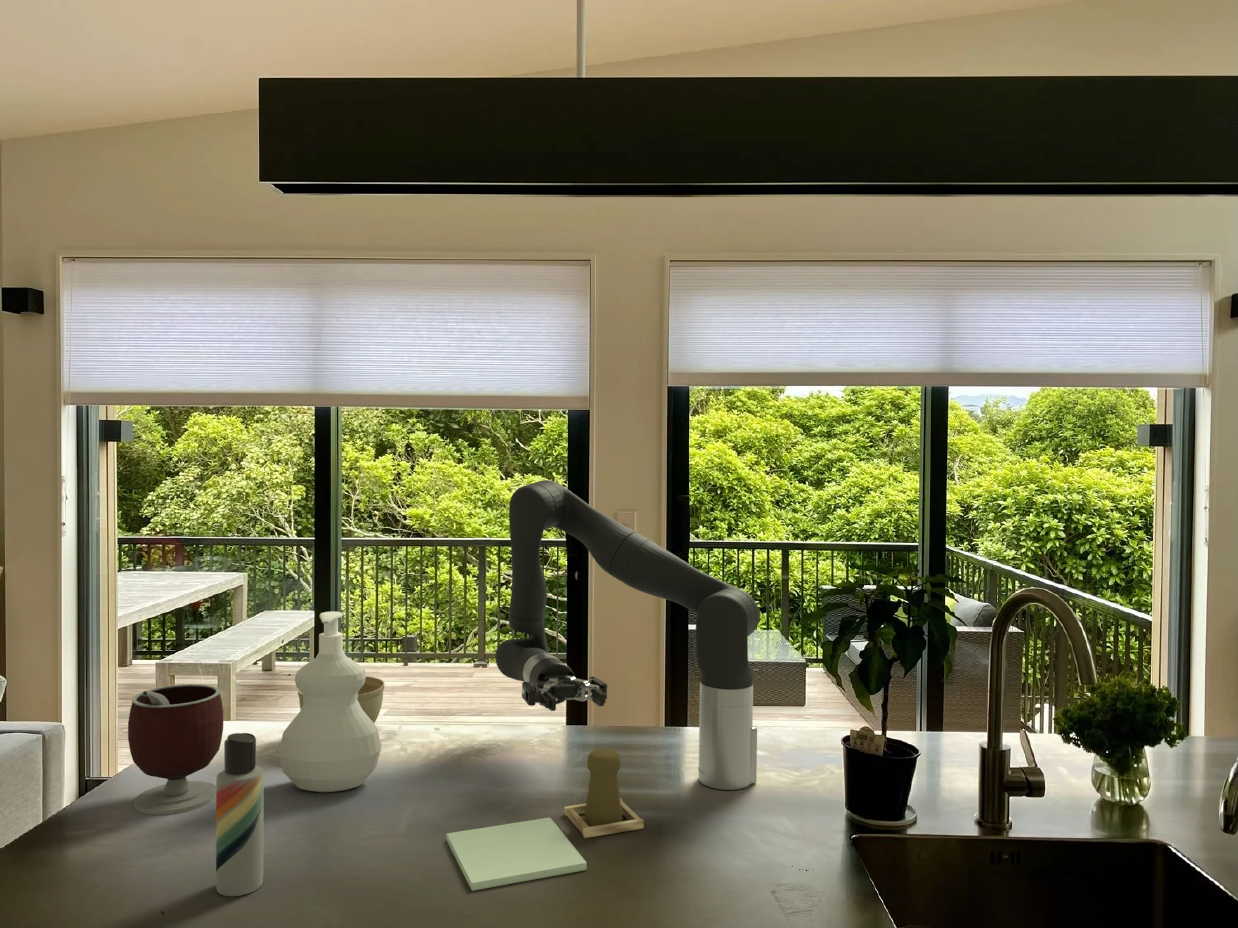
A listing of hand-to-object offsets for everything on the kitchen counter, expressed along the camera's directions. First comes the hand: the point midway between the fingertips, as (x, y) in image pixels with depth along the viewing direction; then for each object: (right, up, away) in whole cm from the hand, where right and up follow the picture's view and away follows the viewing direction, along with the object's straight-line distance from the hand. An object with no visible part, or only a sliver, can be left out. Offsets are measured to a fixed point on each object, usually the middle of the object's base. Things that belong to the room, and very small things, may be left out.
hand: (578, 702), depth 150 cm
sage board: (-8, -16, -22) cm, 28 cm away
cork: (+4, -16, -10) cm, 19 cm away
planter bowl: (-47, -15, +26) cm, 56 cm away
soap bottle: (-42, -15, +3) cm, 45 cm away
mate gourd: (-65, -15, -4) cm, 67 cm away
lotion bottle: (-43, -16, -32) cm, 56 cm away
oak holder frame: (+4, -16, -10) cm, 19 cm away
